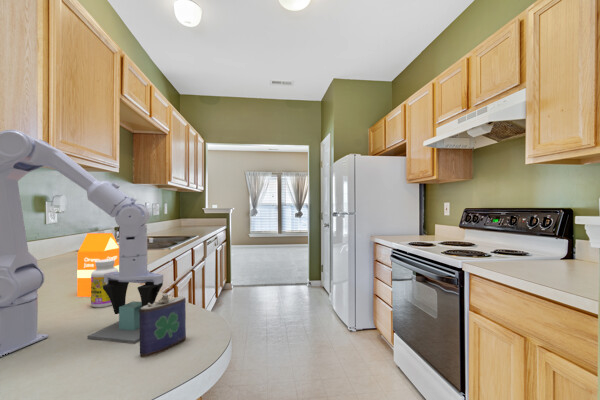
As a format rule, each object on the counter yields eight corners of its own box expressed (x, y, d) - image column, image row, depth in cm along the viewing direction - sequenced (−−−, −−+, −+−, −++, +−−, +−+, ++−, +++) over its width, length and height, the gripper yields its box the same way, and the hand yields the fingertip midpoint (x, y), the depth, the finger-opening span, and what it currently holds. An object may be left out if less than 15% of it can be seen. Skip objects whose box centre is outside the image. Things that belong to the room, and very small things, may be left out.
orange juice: (103, 296, 89) (103, 234, 90) (76, 296, 89) (77, 234, 90) (119, 289, 97) (120, 232, 98) (95, 289, 97) (95, 232, 98)
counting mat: (134, 343, 57) (134, 340, 57) (87, 338, 60) (87, 335, 60) (172, 320, 69) (172, 318, 69) (131, 317, 72) (131, 314, 72)
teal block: (134, 330, 62) (134, 308, 62) (119, 329, 63) (119, 307, 63) (147, 323, 66) (147, 302, 66) (132, 322, 67) (133, 301, 67)
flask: (181, 336, 61) (181, 286, 61) (189, 340, 59) (189, 289, 59) (136, 355, 53) (136, 298, 53) (144, 359, 51) (144, 301, 52)
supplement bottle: (86, 306, 80) (86, 261, 81) (110, 299, 86) (110, 257, 87) (98, 309, 77) (98, 263, 78) (123, 302, 83) (123, 259, 84)
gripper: (171, 253, 67) (172, 309, 67) (121, 251, 70) (121, 305, 70) (150, 258, 61) (150, 321, 60) (95, 256, 64) (95, 316, 63)
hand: (133, 313), depth 65 cm, fingers open, 7 cm apart
